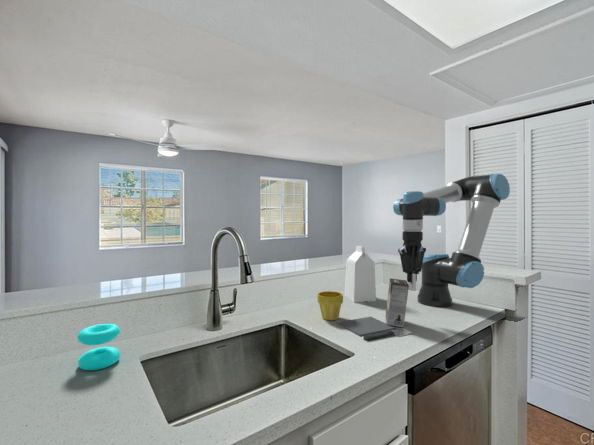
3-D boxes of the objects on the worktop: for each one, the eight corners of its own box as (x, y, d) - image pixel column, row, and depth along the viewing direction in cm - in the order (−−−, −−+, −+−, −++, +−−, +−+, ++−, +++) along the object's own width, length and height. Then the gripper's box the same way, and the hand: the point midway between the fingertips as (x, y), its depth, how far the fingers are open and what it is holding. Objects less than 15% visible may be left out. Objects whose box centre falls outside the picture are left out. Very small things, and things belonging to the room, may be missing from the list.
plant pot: (315, 314, 133) (315, 290, 132) (339, 313, 134) (339, 290, 133) (319, 322, 122) (319, 297, 122) (345, 321, 123) (345, 296, 123)
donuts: (84, 338, 81) (72, 329, 87) (85, 376, 81) (72, 364, 88) (125, 327, 89) (111, 319, 95) (126, 362, 89) (111, 352, 95)
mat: (370, 317, 128) (370, 316, 128) (395, 329, 116) (395, 327, 116) (337, 323, 121) (337, 322, 121) (359, 336, 109) (359, 334, 109)
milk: (344, 296, 162) (344, 245, 161) (365, 294, 165) (365, 245, 164) (354, 302, 150) (354, 248, 150) (376, 300, 153) (376, 247, 153)
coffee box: (384, 317, 127) (389, 277, 126) (401, 319, 126) (406, 280, 125) (386, 325, 118) (391, 282, 117) (404, 328, 117) (409, 285, 116)
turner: (402, 328, 116) (402, 326, 116) (413, 333, 111) (413, 330, 111) (360, 337, 108) (360, 334, 108) (369, 342, 103) (369, 339, 103)
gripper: (407, 231, 119) (406, 294, 119) (432, 230, 124) (431, 290, 125) (393, 230, 125) (392, 289, 126) (417, 230, 131) (416, 286, 132)
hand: (411, 290), depth 125 cm, fingers closed
